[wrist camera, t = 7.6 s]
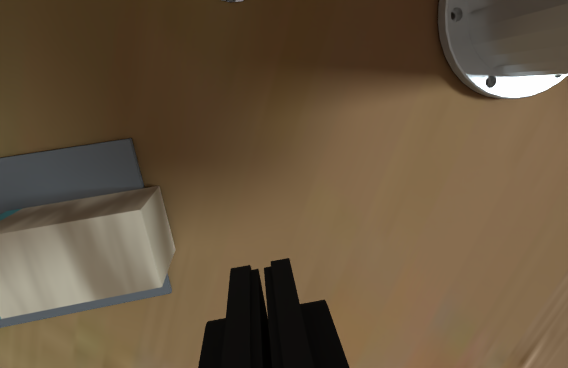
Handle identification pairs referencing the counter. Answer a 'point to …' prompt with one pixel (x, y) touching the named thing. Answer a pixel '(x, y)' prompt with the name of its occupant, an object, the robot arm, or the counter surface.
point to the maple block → (83, 250)
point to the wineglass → (232, 0)
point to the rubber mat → (71, 196)
